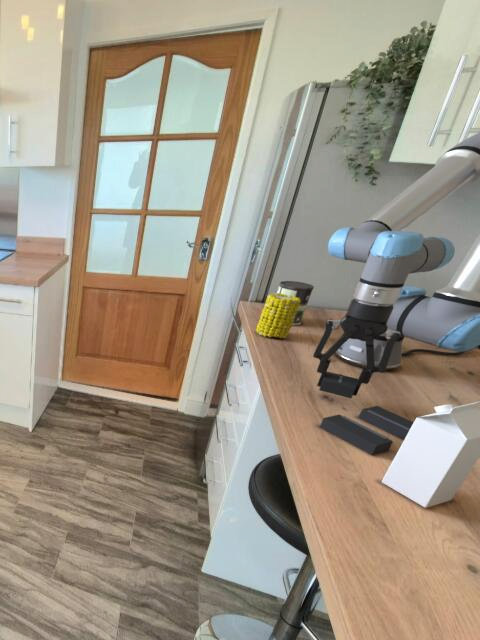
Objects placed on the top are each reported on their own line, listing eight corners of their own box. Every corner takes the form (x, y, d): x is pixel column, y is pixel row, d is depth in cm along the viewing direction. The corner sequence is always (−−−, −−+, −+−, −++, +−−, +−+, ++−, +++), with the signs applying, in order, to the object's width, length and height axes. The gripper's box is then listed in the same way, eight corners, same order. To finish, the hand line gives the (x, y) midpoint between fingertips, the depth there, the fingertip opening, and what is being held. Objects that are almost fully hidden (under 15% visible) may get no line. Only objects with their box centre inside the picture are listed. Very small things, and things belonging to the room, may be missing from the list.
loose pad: (322, 381, 113) (326, 370, 112) (353, 389, 109) (358, 378, 108) (318, 390, 109) (323, 379, 107) (351, 398, 105) (356, 387, 103)
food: (249, 338, 151) (265, 333, 156) (287, 341, 141) (302, 337, 146) (253, 294, 148) (268, 291, 153) (292, 295, 138) (307, 292, 143)
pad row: (372, 414, 104) (377, 404, 103) (428, 440, 94) (433, 430, 93) (319, 426, 99) (323, 417, 98) (371, 455, 90) (377, 444, 89)
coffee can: (300, 319, 164) (313, 283, 158) (301, 327, 156) (314, 289, 150) (268, 314, 169) (279, 279, 163) (268, 322, 161) (279, 285, 155)
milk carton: (451, 500, 78) (509, 412, 70) (424, 508, 76) (480, 419, 68) (406, 475, 84) (454, 391, 76) (380, 482, 82) (426, 397, 74)
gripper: (318, 297, 102) (288, 382, 112) (432, 314, 90) (386, 407, 100) (323, 290, 107) (293, 372, 117) (431, 306, 95) (388, 395, 105)
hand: (336, 388), depth 109 cm, fingers closed on loose pad, 6 cm apart
